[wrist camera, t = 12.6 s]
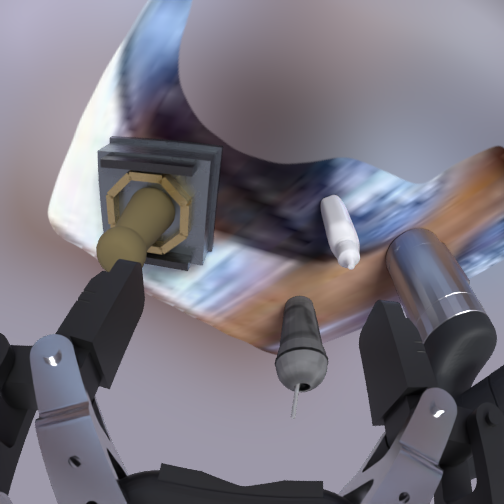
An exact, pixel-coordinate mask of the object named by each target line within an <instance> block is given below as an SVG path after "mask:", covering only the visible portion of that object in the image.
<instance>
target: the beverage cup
mask: <svg viewBox="0 0 504 504" xmlns="http://www.w3.org/2000/svg"><path fill="white" fill-rule="evenodd" d="M327 365H328V357H327V356H326V352H325V350H324V347H323V345H322V341H321V336H320V331H319V327H318V322H317V318H316V313H315V309H314V307H313V303H312V301H311V300H310V299H309V298H307V297H304V296H295V297H293V298H291V299H289V300H288V301H287V303H286V305H285V311H284V317H283V325H282V333H281V340H280V348H279V351H278V354H277V358H276V360H275V366H276V371H277V375H278V377H279V380H280V381H281V383H282V384H283V385H284V386H285V387H287V388H288V389H290V390H292V391H295V393H294V400H293V406H292V414H291V419H294V418H295V415H296V408H297V401H298V393H299V392H307V391H310V390H312V389H314V388H316V387H317V386H318V385H319V384H320V383H321V382H322V381H323V379H324V377H325V375H326V372H327Z"/></svg>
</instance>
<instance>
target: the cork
mask: <svg viewBox="0 0 504 504" xmlns="http://www.w3.org/2000/svg"><path fill="white" fill-rule="evenodd" d="M174 218H175V208H174V204H173V202H172V200H171V199H170V198H169V196H168V195H167V194H166V193H164V192H163V191H161V190H159V189H156V188H152V187H147V188H142V189H140V190H138V191H137V192H135V193H134V194H133V196H132V197H131V199H130V201H129V202H128V204H127V206H126V208H125V209H124V211H123V213H122V215H121V216H120V218H119V220H118V222H117V224H116V225H115V227H112V228H110V229H108V230H107V231H106V232H105V233H104V234H103V235H102V236H101V237H100V239H99V241H98V244H97V247H96V248H97V258H98V261H99V263H100V265H101V266H102V267H103V268H104V269H105V270H106V271H107V272H110V270H111V269H112V267H113V266H114V264H115V263H116V261H117V260H118V259H124V260H129V261H135V262H140V263H141V266H142V267H143V265H144V263H145V261H146V256H147V250H148V249H149V248H150V247H151V246H152V245H153V244H154V243H155V242H156V241H157V240H158V238H159V237H160V236H161V235H162V234H163V233H164V232H165V231H166V230H167V229H168V228H169V227H170V226H171V224H172V223H173V221H174Z"/></svg>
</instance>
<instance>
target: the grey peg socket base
mask: <svg viewBox="0 0 504 504" xmlns="http://www.w3.org/2000/svg"><path fill="white" fill-rule="evenodd" d="M222 151H223V146H218V145H210V144H202V143H193V142H183V141H173V140H161V139H149V138H134V137H116V136H112V137H110V144H108V145H106V146H105V147H103V148H101V149H100V150H98V173H99V188H100V201H101V212H102V222H103V231H104V233H105V232H106V231H107V230H108V229H110V228H112V227H115V225H116V224H117V222H118V220H119V218H120V216H121V215H122V213H123V211H124V209H125V208H126V206H127V204H128V202H129V201H130V199H131V197H132V196H133V194H134V193H135V192H137V191H138V190H140V189H142V188H147V187H152V188H156V189H159V190H161V191H163V192H164V193H166V194H167V195H168V196H169V198H170V199H171V200H172V202H173V204H174V208H175V218H174V221H173V223H172V224H171V226H170V227H169V228H168V229H167V230H166V231H165V232H164V233H163V234H162V235H161V236H160V237H159V238H158V240H157V241H156V242H155V243H154V244H153V245H152V246H151V247H150V248H149V249H148V250H147V256H146V261H145V263H146V264H151V265H157V266H163V267H168V268H174V269H180V270H186V271H188V269H189V266H190V264H197V265H203V263H204V260H205V257H206V254H207V251H212V249H213V240H214V229H215V218H216V208H217V197H218V188H219V178H220V169H221V160H222Z"/></svg>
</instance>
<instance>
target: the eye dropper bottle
mask: <svg viewBox="0 0 504 504" xmlns="http://www.w3.org/2000/svg"><path fill="white" fill-rule="evenodd" d="M321 214H322V218H323V222H324V226H325V230H326V235H327V239H328V243H329V246H330V248H331V251H332V252H333V254H334V255H335V257H336V258H337V260H338V263H339V264H340V265H341V266H342V267H344V268H349V269H354V267H355V265H356V264H357V263H358V262H359V260H360V254H359V239H358V236H357V233H356V231H355V228H354V226H353V223H352V221H351V218H350V216H349V213H348V211H347V209H346V206H345V205H344V203H343V202H342V200H341V199H340V198H339V197H338V196H337V195H332V196H329V197H326V198H324V199H322V201H321Z"/></svg>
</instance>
